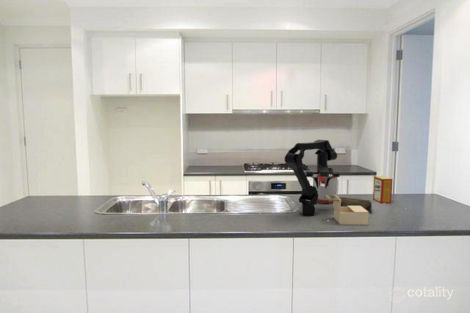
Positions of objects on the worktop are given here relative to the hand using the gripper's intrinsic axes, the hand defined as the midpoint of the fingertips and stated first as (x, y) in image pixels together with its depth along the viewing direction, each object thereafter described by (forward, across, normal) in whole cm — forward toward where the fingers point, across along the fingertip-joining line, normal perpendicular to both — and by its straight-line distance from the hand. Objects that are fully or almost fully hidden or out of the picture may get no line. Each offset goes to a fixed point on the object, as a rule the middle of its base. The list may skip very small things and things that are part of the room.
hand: (321, 188), depth 177 cm
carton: (+13, +11, -18) cm, 25 cm away
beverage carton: (+14, +19, +2) cm, 24 cm away
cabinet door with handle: (+4, +4, -18) cm, 19 cm away
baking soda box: (+14, +43, +22) cm, 50 cm away
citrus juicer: (+14, +6, +20) cm, 25 cm away
